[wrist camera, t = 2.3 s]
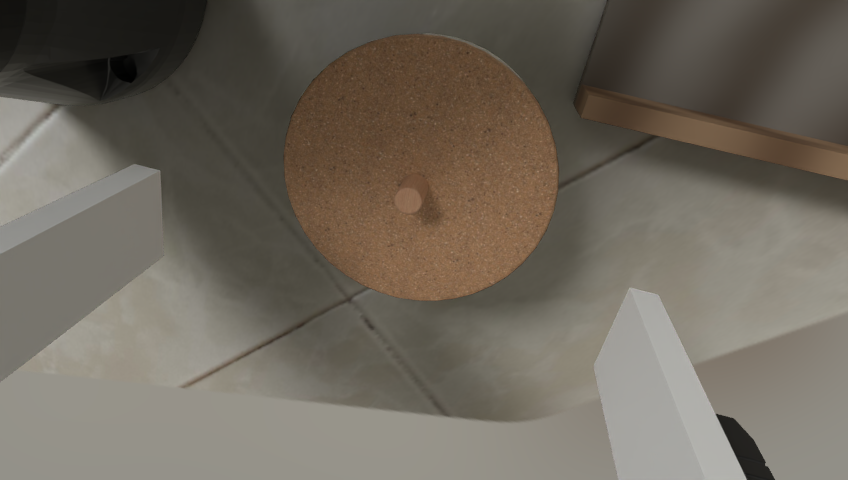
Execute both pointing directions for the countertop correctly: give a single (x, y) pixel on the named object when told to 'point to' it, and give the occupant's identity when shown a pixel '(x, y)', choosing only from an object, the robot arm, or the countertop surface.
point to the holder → (726, 77)
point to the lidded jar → (421, 167)
